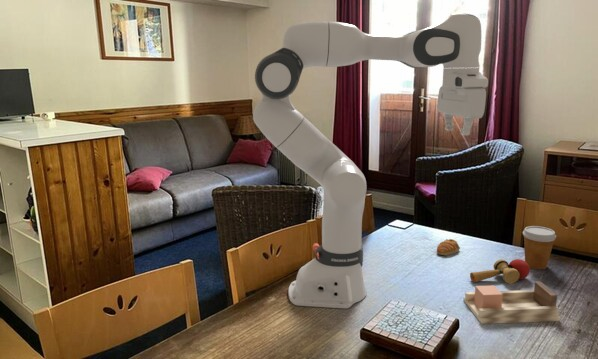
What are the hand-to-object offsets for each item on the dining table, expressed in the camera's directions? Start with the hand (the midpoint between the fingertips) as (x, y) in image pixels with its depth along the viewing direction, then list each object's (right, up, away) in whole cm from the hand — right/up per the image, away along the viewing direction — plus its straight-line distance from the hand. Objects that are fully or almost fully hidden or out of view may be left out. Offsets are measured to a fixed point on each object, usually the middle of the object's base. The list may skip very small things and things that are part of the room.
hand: (457, 132), depth 122 cm
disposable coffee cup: (+35, -41, +26) cm, 59 cm away
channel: (+14, -47, -1) cm, 49 cm away
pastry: (+10, -38, +39) cm, 56 cm away
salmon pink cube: (+8, -46, -1) cm, 47 cm away
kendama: (+19, -43, +17) cm, 50 cm away
